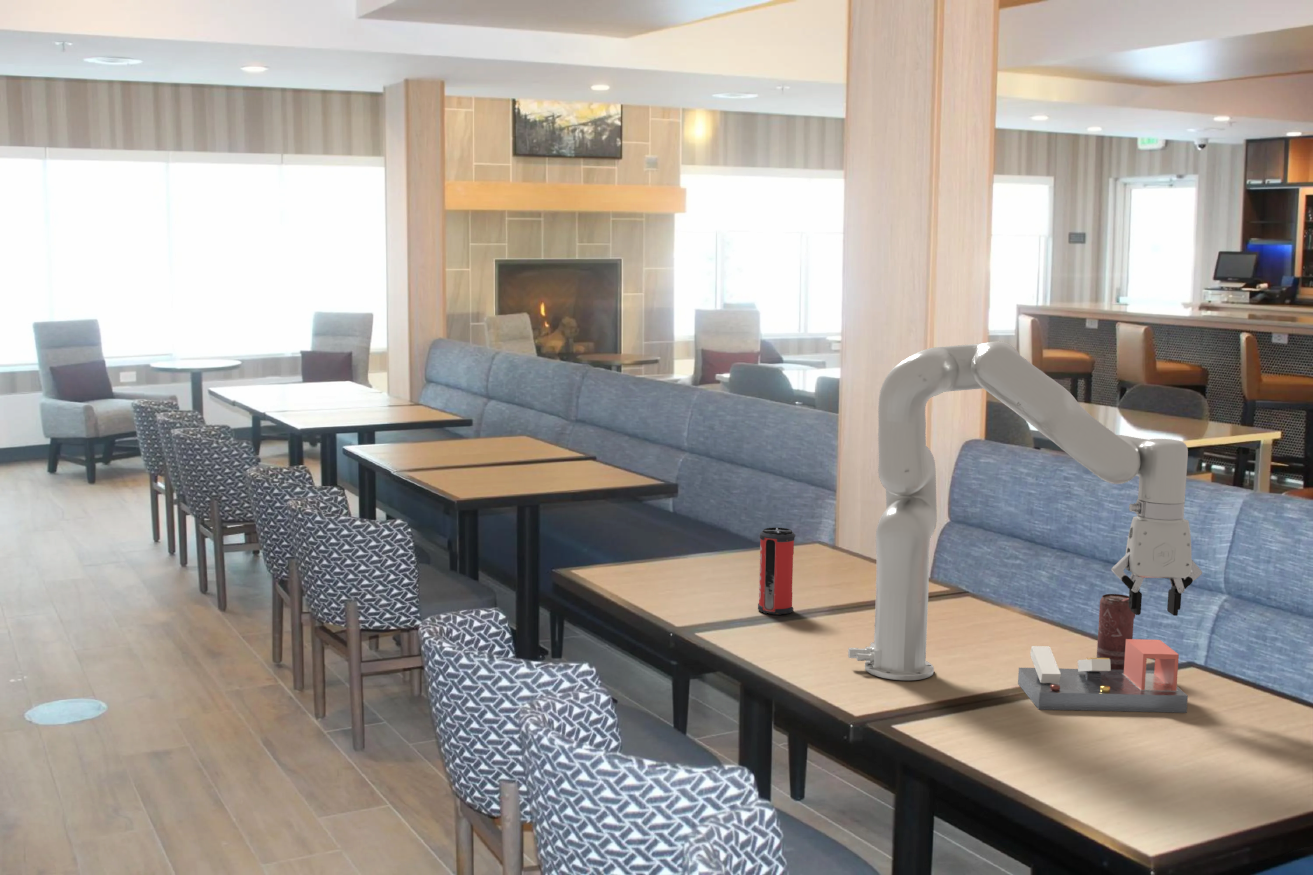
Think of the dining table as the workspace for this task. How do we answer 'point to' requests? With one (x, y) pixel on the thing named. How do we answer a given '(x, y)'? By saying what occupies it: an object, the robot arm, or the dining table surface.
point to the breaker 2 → (1094, 665)
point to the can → (1114, 629)
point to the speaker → (776, 571)
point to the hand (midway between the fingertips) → (1153, 612)
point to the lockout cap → (1151, 649)
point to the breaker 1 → (1045, 664)
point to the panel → (1101, 692)
